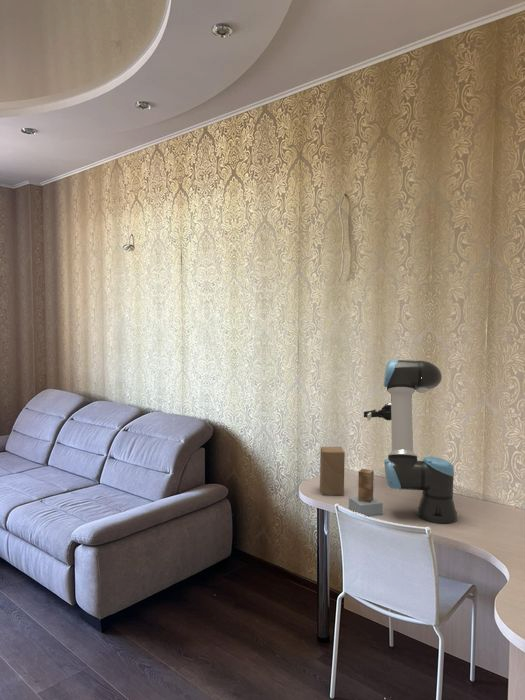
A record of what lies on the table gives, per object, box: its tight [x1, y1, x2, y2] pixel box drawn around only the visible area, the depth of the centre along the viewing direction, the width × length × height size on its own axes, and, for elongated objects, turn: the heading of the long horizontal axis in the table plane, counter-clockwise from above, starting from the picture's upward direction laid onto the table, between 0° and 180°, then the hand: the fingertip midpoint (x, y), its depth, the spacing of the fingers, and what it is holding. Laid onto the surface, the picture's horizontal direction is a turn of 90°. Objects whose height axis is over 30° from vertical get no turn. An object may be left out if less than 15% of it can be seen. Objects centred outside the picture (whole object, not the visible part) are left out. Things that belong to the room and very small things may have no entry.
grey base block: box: [348, 495, 383, 517], centre depth 209 cm, size 10×10×5 cm
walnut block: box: [357, 468, 375, 502], centre depth 209 cm, size 5×5×12 cm
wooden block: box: [319, 446, 346, 496], centre depth 233 cm, size 10×10×20 cm
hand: (383, 418), depth 228 cm, fingers open, 13 cm apart
